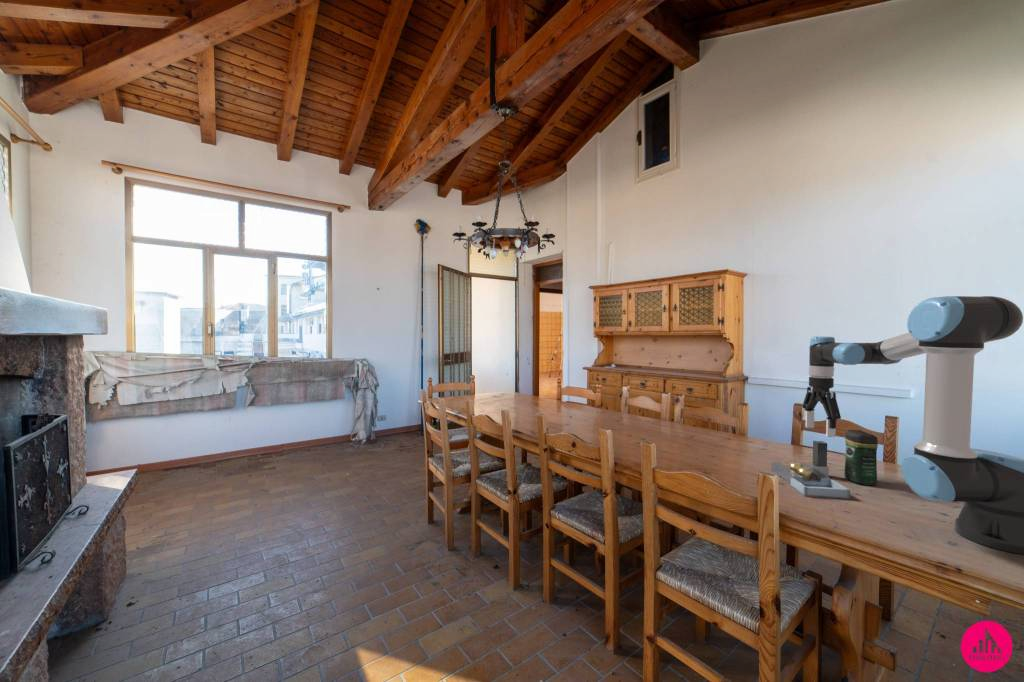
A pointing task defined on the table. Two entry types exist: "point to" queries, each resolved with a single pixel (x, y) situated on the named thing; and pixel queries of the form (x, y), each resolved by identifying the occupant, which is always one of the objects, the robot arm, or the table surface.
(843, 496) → the tray
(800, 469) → the gold dome knob
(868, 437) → the coffee jar
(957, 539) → the table surface
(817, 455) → the stepped gray block
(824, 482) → the slot board
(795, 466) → the brass round knob
